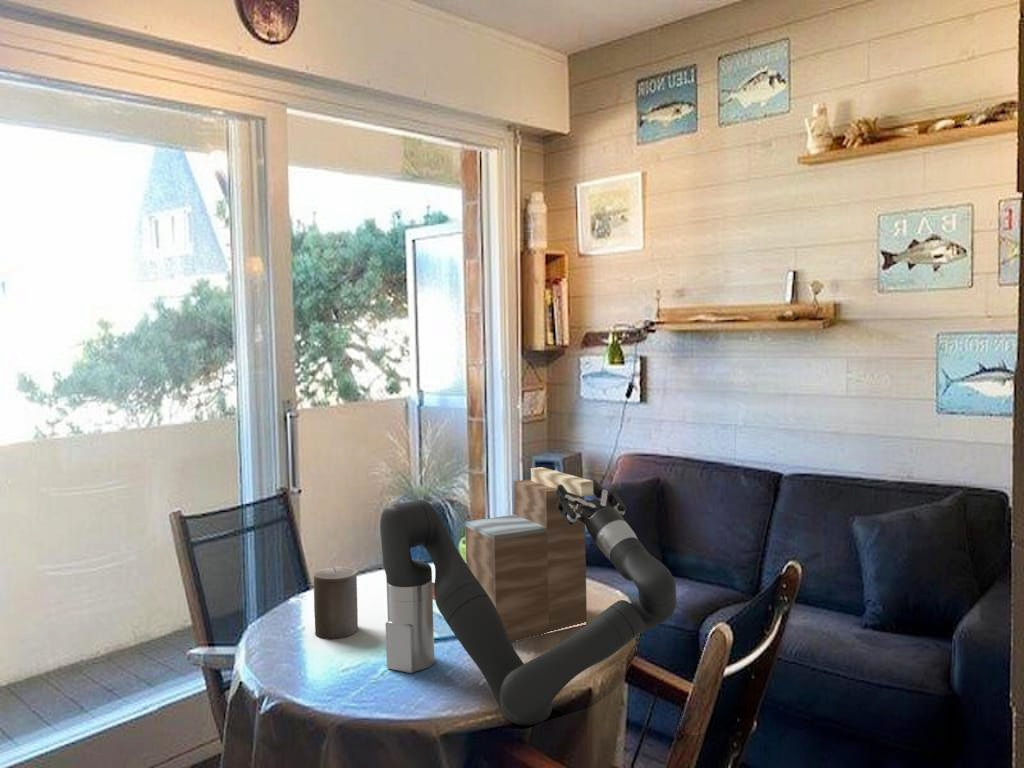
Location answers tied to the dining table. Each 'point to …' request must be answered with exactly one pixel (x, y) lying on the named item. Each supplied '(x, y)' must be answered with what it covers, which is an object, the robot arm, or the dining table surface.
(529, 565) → the block
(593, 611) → the dining table surface
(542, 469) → the maple rod
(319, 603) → the pillar candle
